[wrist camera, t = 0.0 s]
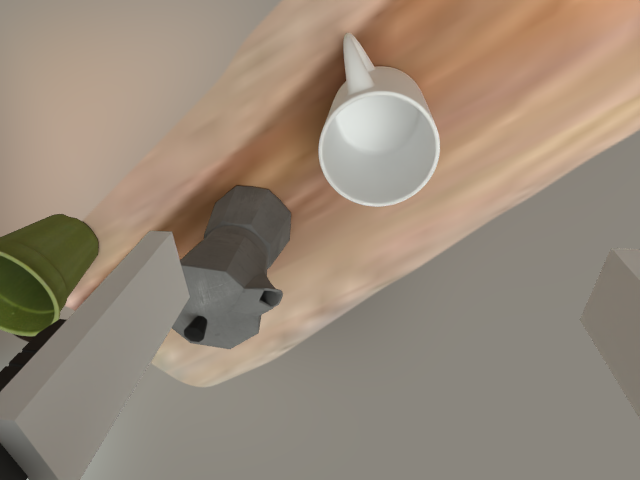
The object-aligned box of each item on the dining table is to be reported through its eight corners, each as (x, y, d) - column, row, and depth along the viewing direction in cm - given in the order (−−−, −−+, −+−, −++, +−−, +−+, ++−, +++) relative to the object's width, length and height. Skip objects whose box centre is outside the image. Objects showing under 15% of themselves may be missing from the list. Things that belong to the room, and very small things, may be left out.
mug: (402, 5, 32) (411, 13, 23) (433, 141, 38) (451, 189, 29) (305, 45, 35) (280, 66, 26) (348, 167, 40) (340, 219, 32)
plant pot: (131, 233, 48) (73, 293, 39) (99, 288, 54) (41, 351, 45) (39, 175, 46) (-49, 224, 36) (15, 239, 51) (-66, 296, 42)
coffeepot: (293, 169, 41) (245, 274, 26) (320, 243, 46) (293, 368, 31) (168, 201, 45) (65, 308, 30) (205, 266, 50) (131, 387, 35)
